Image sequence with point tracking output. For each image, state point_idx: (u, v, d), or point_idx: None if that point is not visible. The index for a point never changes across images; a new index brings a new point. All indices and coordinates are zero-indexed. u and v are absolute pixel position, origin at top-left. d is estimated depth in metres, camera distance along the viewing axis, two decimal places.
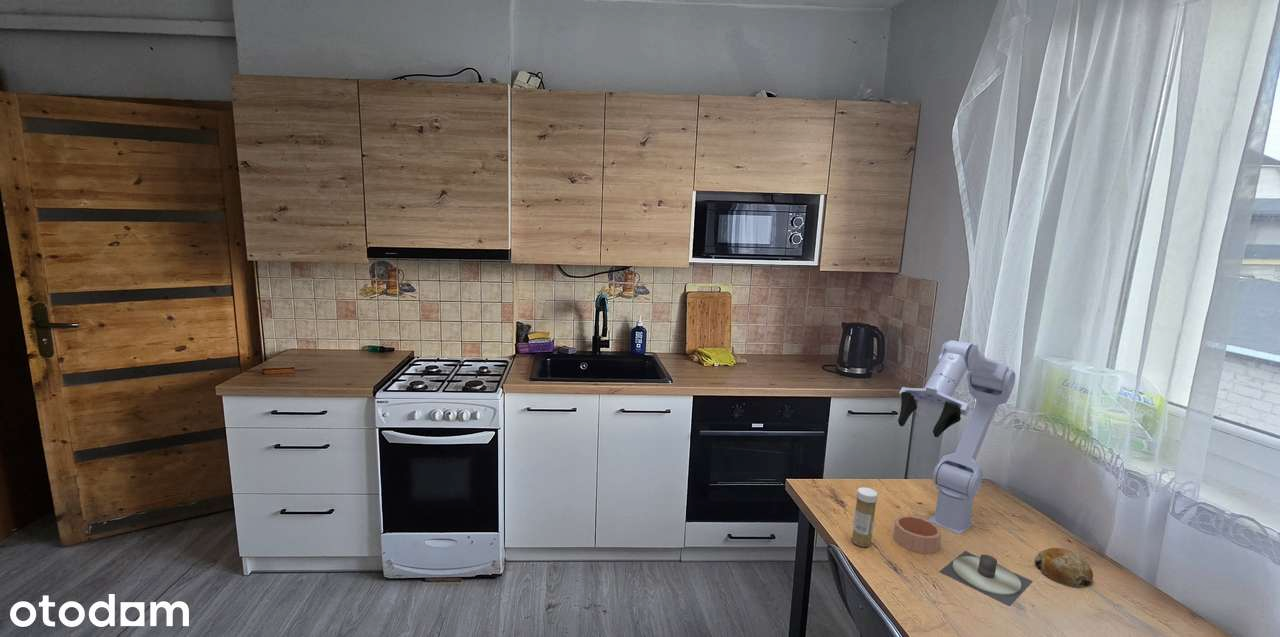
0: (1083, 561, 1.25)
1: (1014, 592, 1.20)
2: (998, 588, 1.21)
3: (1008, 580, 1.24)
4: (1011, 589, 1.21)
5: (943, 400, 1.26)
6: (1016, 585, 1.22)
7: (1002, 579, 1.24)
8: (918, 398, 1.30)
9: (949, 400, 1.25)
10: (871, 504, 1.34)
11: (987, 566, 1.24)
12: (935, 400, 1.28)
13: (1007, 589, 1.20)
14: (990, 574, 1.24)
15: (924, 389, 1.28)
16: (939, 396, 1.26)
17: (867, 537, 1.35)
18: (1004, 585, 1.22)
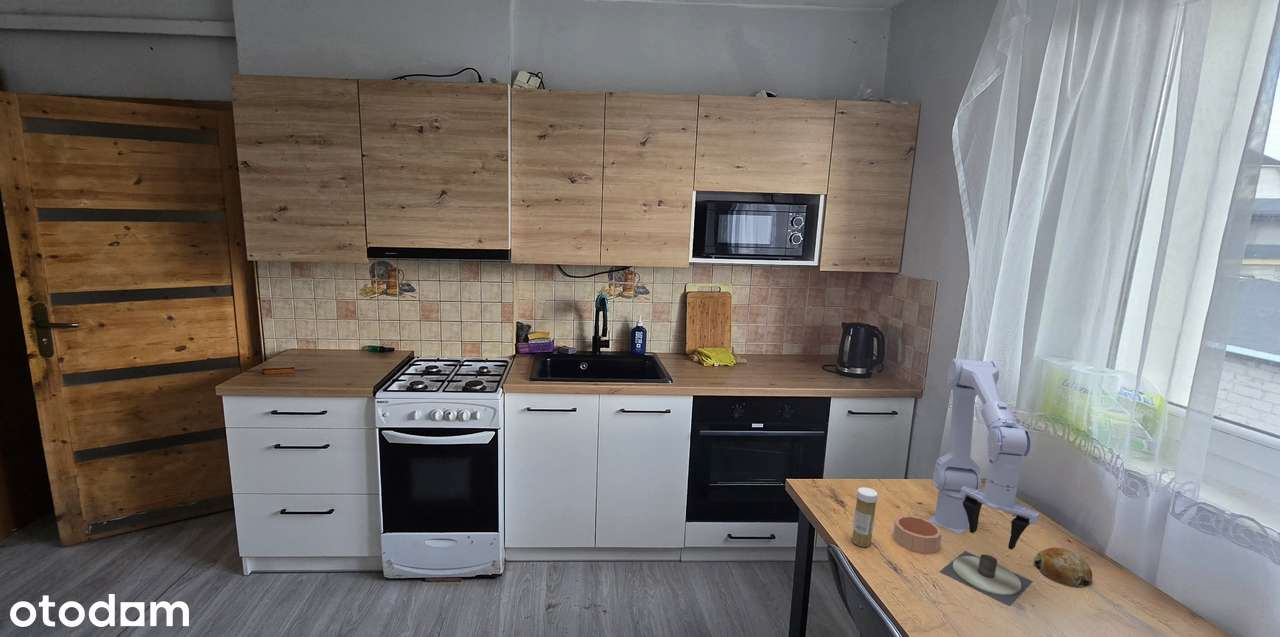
0: (1082, 561, 1.26)
1: (1014, 592, 1.20)
2: (998, 588, 1.21)
3: (1008, 580, 1.24)
4: (1011, 589, 1.21)
5: None
6: (1016, 585, 1.22)
7: (1002, 579, 1.24)
8: (982, 502, 1.25)
9: None
10: (871, 504, 1.34)
11: (987, 566, 1.24)
12: None
13: (1007, 589, 1.20)
14: (990, 574, 1.24)
15: (985, 502, 1.22)
16: None
17: (867, 537, 1.35)
18: (1004, 585, 1.22)
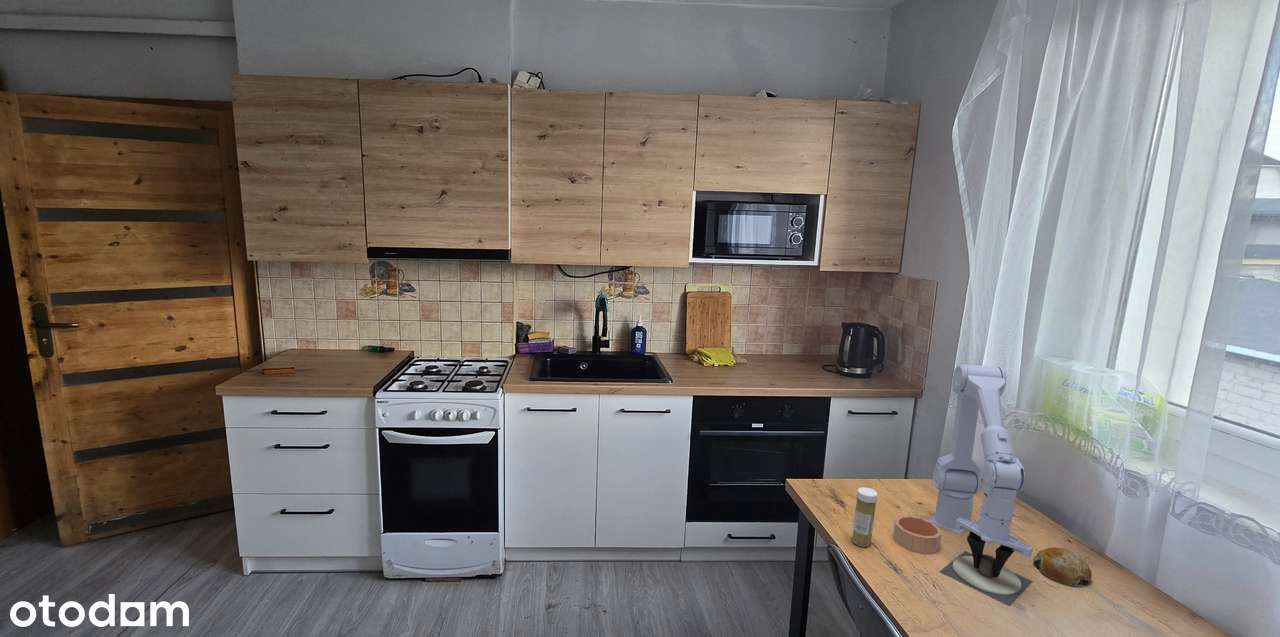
0: (1082, 560, 1.26)
1: (1014, 592, 1.20)
2: (998, 588, 1.21)
3: (1008, 580, 1.24)
4: (1011, 589, 1.21)
5: None
6: (1016, 585, 1.22)
7: (1002, 579, 1.24)
8: (976, 533, 1.26)
9: None
10: (871, 504, 1.34)
11: (987, 565, 1.24)
12: None
13: (1007, 589, 1.20)
14: (990, 574, 1.24)
15: (979, 534, 1.24)
16: None
17: (867, 537, 1.35)
18: (1004, 585, 1.22)
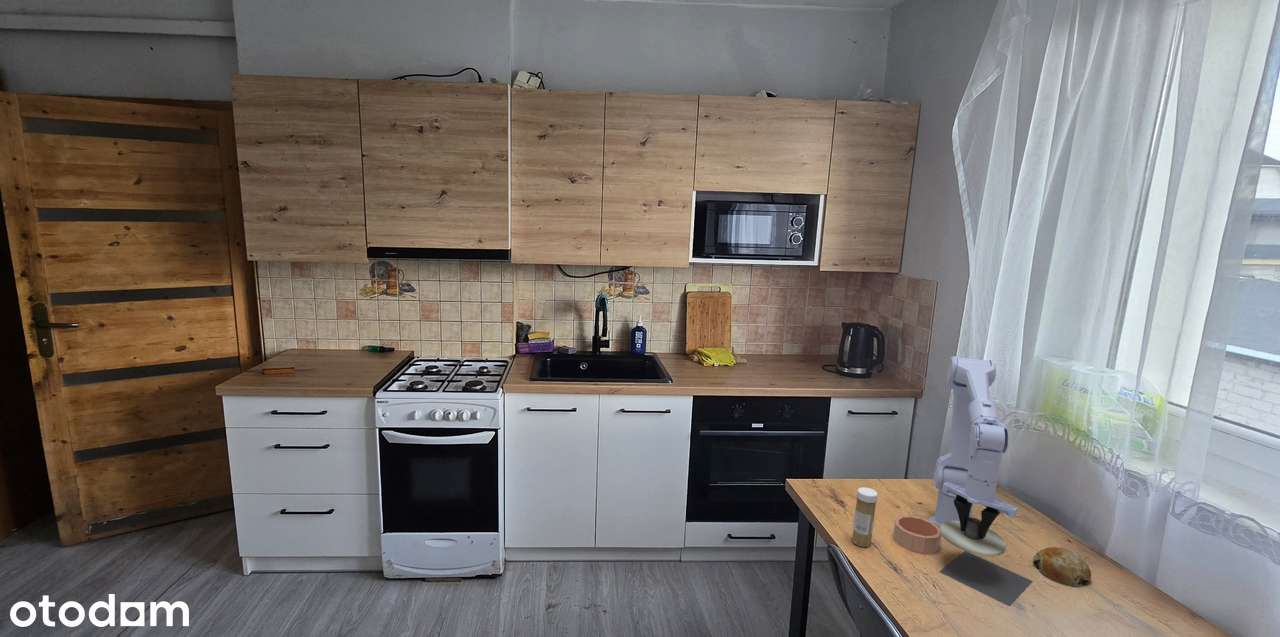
0: (1081, 560, 1.26)
1: (1000, 552, 1.22)
2: (984, 549, 1.23)
3: (994, 541, 1.26)
4: (997, 549, 1.23)
5: None
6: (1001, 546, 1.24)
7: (987, 541, 1.26)
8: (963, 497, 1.28)
9: None
10: (871, 504, 1.34)
11: (974, 528, 1.26)
12: None
13: (993, 550, 1.22)
14: (976, 536, 1.26)
15: (966, 497, 1.26)
16: None
17: (867, 537, 1.35)
18: (990, 546, 1.24)
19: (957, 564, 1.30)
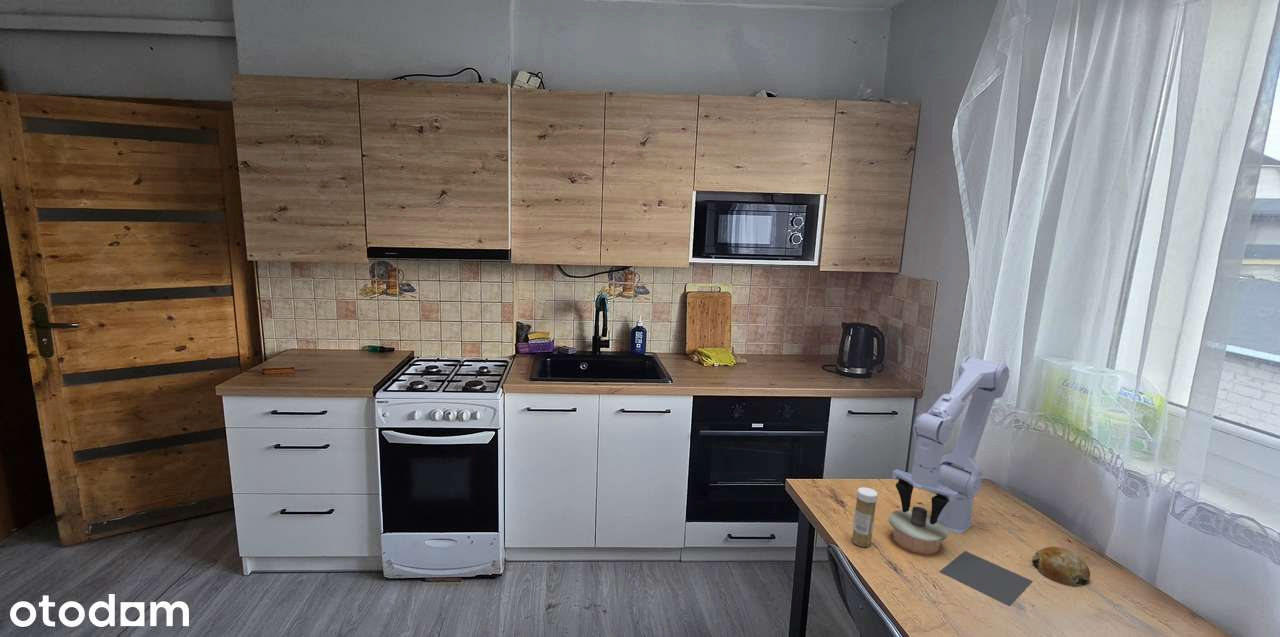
0: (1080, 560, 1.26)
1: (940, 538, 1.32)
2: (926, 535, 1.33)
3: (937, 529, 1.36)
4: (938, 536, 1.33)
5: None
6: (943, 533, 1.34)
7: (931, 528, 1.36)
8: None
9: None
10: (871, 504, 1.34)
11: (918, 516, 1.36)
12: None
13: (934, 536, 1.32)
14: (921, 523, 1.36)
15: (912, 482, 1.36)
16: None
17: (867, 537, 1.35)
18: (932, 533, 1.34)
19: (957, 564, 1.30)
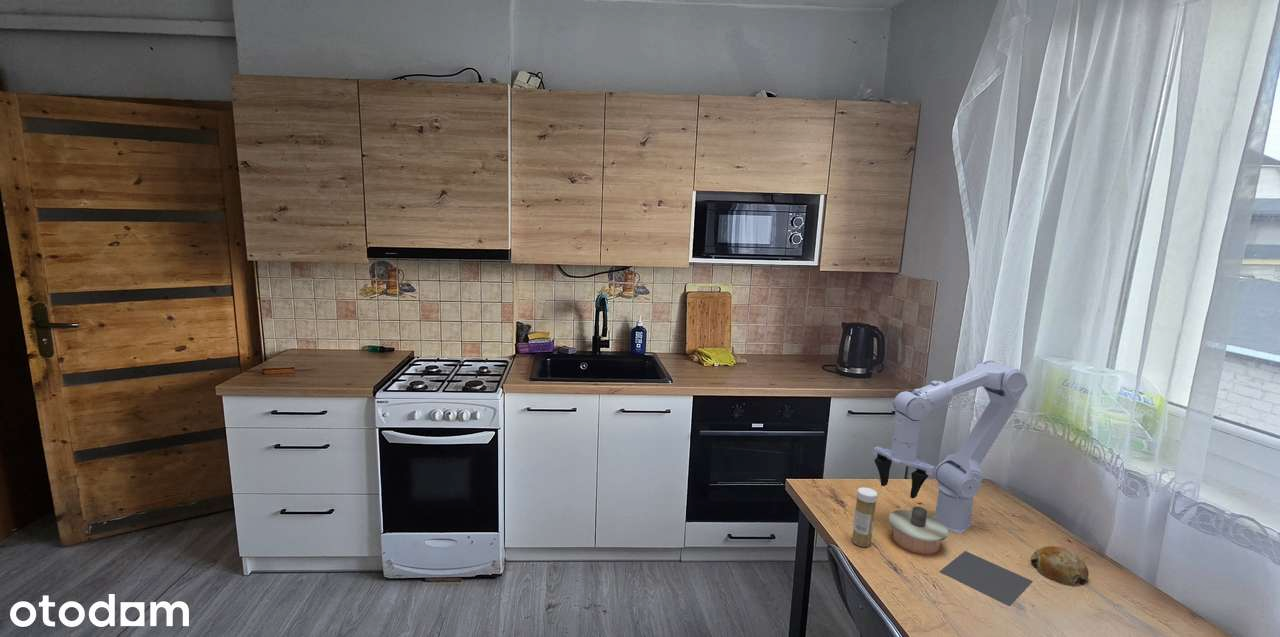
0: (1079, 559, 1.26)
1: (940, 538, 1.32)
2: (926, 535, 1.33)
3: (937, 529, 1.36)
4: (938, 536, 1.33)
5: None
6: (943, 533, 1.34)
7: (931, 528, 1.36)
8: (890, 458, 1.45)
9: None
10: (871, 504, 1.34)
11: (918, 516, 1.36)
12: None
13: (934, 536, 1.32)
14: (921, 523, 1.36)
15: (891, 458, 1.42)
16: None
17: (867, 537, 1.35)
18: (932, 533, 1.34)
19: (957, 564, 1.30)
